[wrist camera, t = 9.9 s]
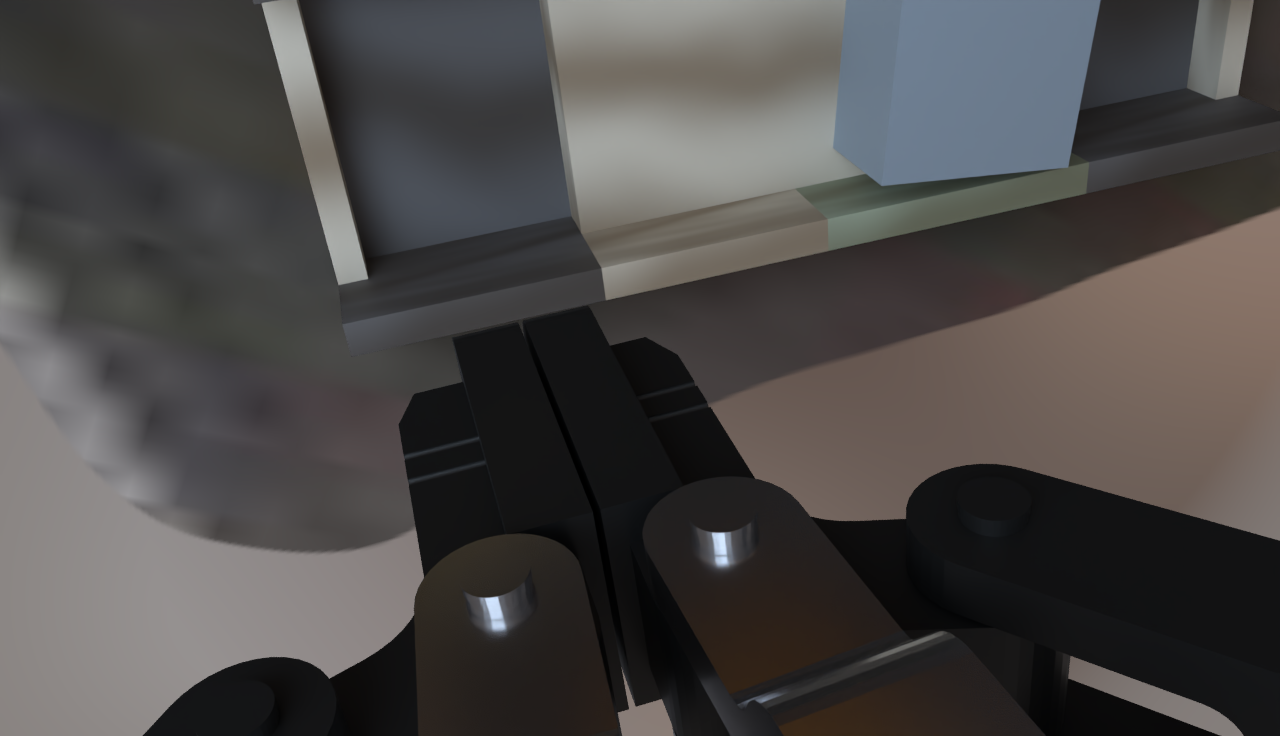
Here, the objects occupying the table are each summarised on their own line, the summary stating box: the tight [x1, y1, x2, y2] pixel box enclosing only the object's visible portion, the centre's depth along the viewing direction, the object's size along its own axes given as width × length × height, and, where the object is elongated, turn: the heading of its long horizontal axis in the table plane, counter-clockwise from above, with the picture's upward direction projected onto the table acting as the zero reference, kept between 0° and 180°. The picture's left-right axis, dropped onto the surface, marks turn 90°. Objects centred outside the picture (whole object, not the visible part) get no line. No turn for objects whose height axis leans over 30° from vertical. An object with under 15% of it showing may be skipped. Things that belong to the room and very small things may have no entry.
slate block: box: [833, 0, 1101, 186], centre depth 39 cm, size 6×7×4 cm
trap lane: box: [253, 0, 1280, 357], centre depth 39 cm, size 12×35×5 cm, turn 97°
